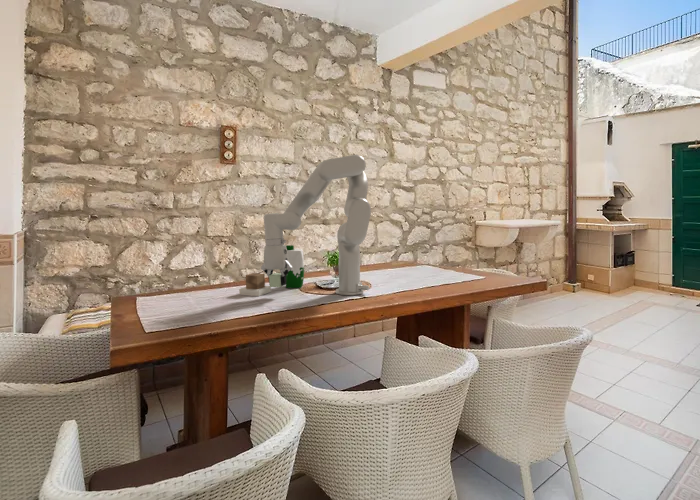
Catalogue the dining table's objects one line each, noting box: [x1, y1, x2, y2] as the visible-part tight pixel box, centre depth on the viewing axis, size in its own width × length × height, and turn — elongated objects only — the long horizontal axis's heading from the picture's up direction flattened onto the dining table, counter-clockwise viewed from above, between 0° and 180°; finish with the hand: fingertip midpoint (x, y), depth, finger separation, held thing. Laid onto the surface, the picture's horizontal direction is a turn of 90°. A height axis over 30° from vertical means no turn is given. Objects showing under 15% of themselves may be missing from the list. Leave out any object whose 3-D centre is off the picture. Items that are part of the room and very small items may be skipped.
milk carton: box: [285, 244, 305, 289], centre depth 197 cm, size 9×9×20 cm
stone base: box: [238, 285, 272, 297], centre depth 183 cm, size 10×10×2 cm
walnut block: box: [245, 272, 266, 289], centre depth 183 cm, size 6×6×6 cm
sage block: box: [268, 272, 283, 288], centre depth 174 cm, size 5×5×5 cm
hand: (277, 284), depth 174 cm, fingers closed on sage block, 5 cm apart
